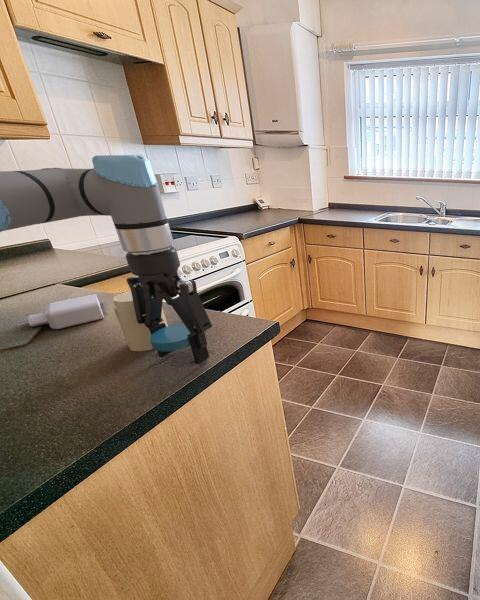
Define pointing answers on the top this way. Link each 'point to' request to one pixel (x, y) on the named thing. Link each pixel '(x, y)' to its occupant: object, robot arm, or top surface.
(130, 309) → the jar
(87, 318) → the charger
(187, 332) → the lid
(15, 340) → the top surface
